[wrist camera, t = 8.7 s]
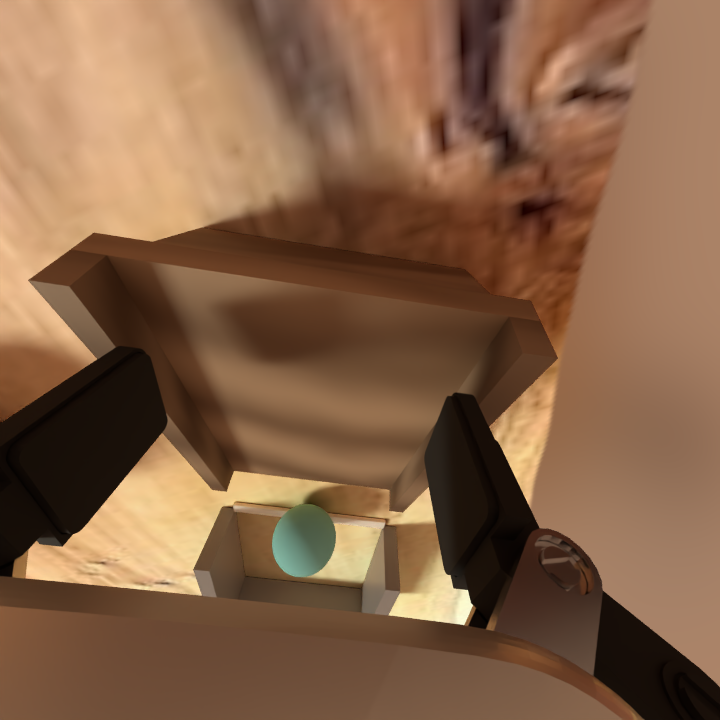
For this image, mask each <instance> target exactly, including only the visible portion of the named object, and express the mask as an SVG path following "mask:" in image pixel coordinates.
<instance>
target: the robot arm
mask: <svg viewBox="0 0 720 720" xmlns="http://www.w3.org/2000/svg"><path fill="white" fill-rule="evenodd" d="M167 422H168V419H167V414H166V411H165V407H164V404H163V400H162V396H161V393H160V389H159V386H158V382H157V378H156V375H155V371H154V367H153V364H152V360H151V357H150V356H149V355H148V354H146V352H145V351H144V350H143V349H140V348H134V347H127V346H118V347H116V348H114V349H113V350H111V351H110V352H108V353H106V354H105V355H103V356H102V357H100V358H99V359H97V360H96V361H94V362H93V363H91V364H90V365H88V366H87V367H85V368H84V369H82V370H81V371H79V372H78V373H76V374H75V375H73V376H72V377H70V378H69V379H67V380H66V381H64V382H62V383H61V384H59V385H58V386H56V387H55V388H53V389H52V390H50V391H49V392H47V393H46V394H44V395H43V396H41V397H40V398H38V399H37V400H35V401H34V402H32V403H31V404H29V405H28V406H26V407H25V408H23V409H22V410H20V411H19V412H17V413H15V414H14V415H12V416H11V417H9V418H8V419H6V420H5V421H3V422H2V423H0V720H720V687H719V686H718V685H717V684H716V683H715V682H714V681H713V680H712V679H711V678H710V677H708V676H707V675H706V674H705V673H704V672H703V671H702V670H701V669H700V668H699V667H697V666H696V665H695V664H694V663H692V662H691V661H690V660H689V659H687V658H686V657H685V656H684V655H682V654H681V653H680V652H679V651H677V650H676V649H675V648H673V647H672V646H671V645H670V644H669V643H668V642H666V641H665V640H664V639H662V638H661V637H660V636H659V635H658V634H656V633H655V632H654V631H652V630H651V629H650V628H649V627H648V626H646V625H645V624H644V623H643V622H641V621H640V620H639V619H637V618H636V617H635V616H634V615H633V614H631V613H630V612H629V611H628V610H626V609H625V608H624V607H623V606H621V605H620V604H619V603H618V602H616V601H615V600H614V599H613V598H611V597H610V596H609V595H607V594H606V593H605V592H604V591H603V589H602V580H601V578H600V575H599V573H598V570H597V568H596V567H595V565H594V564H593V562H592V560H591V559H590V557H589V556H588V555H587V554H586V553H585V552H584V551H583V550H582V549H581V548H580V546H578V545H577V544H576V543H574V542H573V541H572V540H571V539H570V538H568V537H566V536H565V535H563V534H561V533H559V532H557V531H554V530H551V529H542V528H539V526H538V524H537V522H536V520H535V518H534V516H533V513H532V511H531V509H530V507H529V505H528V503H527V501H526V499H525V497H524V495H523V493H522V490H521V488H520V486H519V484H518V482H517V480H516V478H515V476H514V474H513V472H512V470H511V468H510V465H509V463H508V461H507V459H506V457H505V455H504V453H503V451H502V449H501V447H500V445H499V443H498V442H497V441H496V440H495V439H494V437H493V435H492V432H491V430H490V428H489V426H488V424H487V422H486V420H485V418H484V415H483V413H482V411H481V409H480V407H479V405H478V403H477V401H476V398H475V397H474V395H472V394H465V393H458V392H455V393H453V394H452V396H447V397H446V399H445V402H444V404H443V407H442V410H441V412H440V415H439V417H438V420H437V423H436V425H435V428H434V430H433V433H432V435H431V438H430V441H429V443H428V446H427V448H426V451H425V455H424V463H425V468H426V474H427V479H428V485H429V490H430V496H431V501H432V506H433V512H434V517H435V523H436V528H437V534H438V539H439V544H440V550H441V555H442V561H443V566H444V570H445V572H446V574H447V575H451V579H452V584H453V588H455V589H464V590H468V592H469V596H470V600H471V603H472V604H473V607H472V609H471V611H470V614H469V616H468V618H467V620H466V622H465V625H459V624H451V623H443V622H436V621H428V620H420V619H412V618H404V617H396V616H388V615H379V614H370V613H361V612H351V611H342V610H332V609H323V608H314V607H304V606H295V605H285V604H276V603H266V602H257V601H247V600H237V599H227V598H217V597H208V596H198V595H188V594H178V593H168V592H158V591H148V590H138V589H128V588H118V587H108V586H97V585H87V584H77V583H66V582H56V581H45V580H35V579H25V577H26V567H27V558H28V549H29V548H30V547H31V546H32V545H33V544H34V543H35V542H36V540H37V541H38V542H39V544H43V545H52V546H62V547H63V545H64V544H65V543H66V542H67V541H68V539H69V538H70V537H71V536H72V535H73V534H75V533H77V532H79V531H80V530H82V529H83V528H84V527H85V525H86V524H87V523H88V522H89V521H90V519H91V518H92V517H93V516H94V514H95V513H96V512H97V511H98V510H99V508H100V507H101V506H102V505H103V504H104V502H105V501H106V500H107V499H108V498H109V496H110V495H111V494H112V493H113V491H114V490H115V489H116V488H117V487H118V485H119V484H120V483H121V482H122V481H123V479H124V478H125V477H126V476H127V475H128V473H129V472H130V471H131V470H132V468H133V467H134V466H135V465H136V464H137V462H138V461H139V460H140V459H141V458H142V456H143V455H144V454H145V453H146V452H147V450H148V449H149V448H150V447H151V445H152V444H153V443H154V442H155V441H156V439H157V438H158V437H159V436H160V435H161V433H162V432H163V431H164V430H165V428H166V426H167Z"/></svg>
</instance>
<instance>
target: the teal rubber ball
mask: <svg viewBox="0 0 720 720" xmlns="http://www.w3.org/2000/svg"><path fill="white" fill-rule="evenodd" d="M335 542H336V532H335V527H334V524H333V521H332V519H331V518H330V516H329V515H328V513H327V512H326V511H325V510H323V509H322V508H320V507H318V506H316V505H313V504H302V505H298V506H295V507H293V508H291V509H290V510H288V511H287V512H286V513H285V514H284V515H283V516H282V517H281V519H280V520H279V522H278V523H277V525H276V528H275V530H274V534H273V540H272V549H273V554H274V558H275V560H276V562H277V564H278V565H279V567H280V568H281V569H282V570H283V571H284V572H286V573H287V574H289V575H291V576H295V577H307V576H311V575H313V574H315V573H317V572H318V571H320V570H321V569H322V568H323V567H324V566H325V565H326V564H327V562H328V561H329V559H330V558H331V556H332V553H333V551H334V547H335Z"/></svg>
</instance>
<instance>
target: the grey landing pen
mask: <svg viewBox="0 0 720 720" xmlns="http://www.w3.org/2000/svg"><path fill="white" fill-rule="evenodd" d="M288 510H290V508H281V507H273V506H264V505H255V504H247V503H238V502H234V504H233V508H227V507H222V508H221V510H220V513H219V515H218V517H217V519H216V521H215V523H214V526H213V528H212V530H211V532H210V534H209V537H208V539H207V541H206V543H205V545H204V548H203V550H202V552H201V554H200V556H199V559H198V561H197V563H196V565H195V567H194V569H193V570H194V573H195V576H196V579H197V582H198V585H199V588H200V591H201V594H202V596H208V597H217V598H227V599H237V600H247V601H257V602H266V603H276V604H285V605H295V606H304V607H314V608H323V609H332V610H342V611H351V612H361V613H370V614H379V615H389V613H390V611H391V609H392V607H393V605H394V603H395V601H396V599H397V597H398V595H399V593H400V579H399V564H398V549H397V535H396V527H391V526H385V520H384V519H375V518H367V517H358V516H350V515H341V514H333V513H328V515H329V516H330V518H331V519H332V521H333V523H337V524H345V525H354V526H363V527H371V528H380V529H382V531H381V534H380V536H379V539H378V542H377V545H376V548H375V551H374V554H373V557H372V560H371V563H370V566H369V568H368V571H367V574H366V577H365V580H364V583H363V586H362V589H358V588H349V587H339V586H330V585H320V584H311V583H301V582H292V581H282V580H273V579H263V578H254V577H245V573H244V566H243V558H242V551H241V544H240V537H239V530H238V523H237V516H236V512H241V513H250V514H259V515H267V516H276V517H282V516H283V515H284V514H285V513H286V512H287V511H288Z"/></svg>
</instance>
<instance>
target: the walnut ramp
mask: <svg viewBox="0 0 720 720" xmlns="http://www.w3.org/2000/svg"><path fill="white" fill-rule="evenodd" d="M28 281H29V282H30V283H31V284H32V285H33V286H34V287H35V289H36V290H37V291H38V292H39V293H40V294H41V295H42V297H43V298H44V299H45V300H46V301H47V302H48V303H49V305H50V306H51V307H52V308H53V309H54V310H55V311H56V313H57V314H58V315H59V316H60V317H61V318H62V319H63V320H64V322H65V323H66V324H67V325H68V326H69V327H70V328H71V330H72V331H73V332H74V333H75V334H76V335H77V336H78V338H79V339H80V340H81V341H82V342H83V343H84V344H85V345H86V347H87V348H88V349H89V350H90V351H91V352H92V353H93V355H94V356H95V357H96V358H97V359H99V358H100V357H102V356H103V355H105V354H106V353H108V352H110V351H111V350H113V349H114V348H116V347H118V346H127V347H134V348H140V349H143V350H144V351H145V352H146V354H148V355H149V356H150V357H151V360H152V364H153V367H154V371H155V375H156V378H157V382H158V386H159V389H160V393H161V396H162V400H163V404H164V407H165V411H166V414H167V419H168V422H167V426H166V428H165V430H164V431H163V432H162V433H163V434H164V435H165V436H166V438H167V439H168V440H169V441H170V442H171V443H172V444H173V446H174V447H175V448H176V449H177V450H178V451H179V452H180V453H181V455H182V456H183V457H184V458H185V459H186V460H187V461H188V463H189V464H190V465H191V466H192V467H193V468H194V469H195V471H196V472H197V473H198V474H199V475H200V476H201V477H202V479H203V480H204V481H205V482H206V483H207V484H208V485H209V486H210V488H211V489H212V490H218V491H226V492H227V489H228V486H229V483H230V480H231V477H232V475H233V472H234V471H240V472H249V473H257V474H265V475H273V476H281V477H290V478H298V479H306V480H314V481H323V482H331V483H339V484H347V485H355V486H364V487H372V488H380V489H388V490H390V509H389V511H395V512H404V511H405V510H406V509H407V508H408V507H409V506H410V505H411V504H412V503H413V502H414V501H415V500H416V499H417V498H418V497H419V496H420V495H421V494H422V493H423V492H424V491H425V490H426V489H427V488H428V487H429V485H428V479H427V474H426V468H425V463H424V455H425V451H426V448H427V446H428V443H429V441H430V438H431V435H432V433H433V430H434V428H435V425H436V423H437V420H438V417H439V415H440V412H441V410H442V407H443V404H444V402H445V399H446V397H447V396H452V394H453V393H455V392H458V393H465V394H472V395H474V397H475V398H476V401H477V403H478V405H479V407H480V409H481V411H482V413H483V415H484V418H485V420H486V422H487V424H488V426H490V425H491V424H492V423H493V422H494V421H495V420H496V419H497V418H498V417H499V416H500V415H501V414H502V413H503V412H504V411H505V410H506V409H507V408H508V407H509V406H510V405H511V404H512V403H513V402H514V401H515V400H516V399H517V398H518V397H519V396H520V395H521V394H522V393H523V392H524V391H525V390H526V389H527V388H528V387H529V386H530V385H531V384H532V383H533V382H534V381H535V380H536V379H537V378H538V377H539V376H540V375H541V374H542V373H543V372H544V371H545V370H546V369H548V368H549V367H550V366H551V365H552V364H553V363H554V362H555V361H556V360H557V359H558V357H557V355H556V353H555V351H554V349H553V347H552V345H551V343H550V341H549V338H548V336H547V334H546V332H545V330H544V328H543V326H542V324H541V322H540V319H539V317H538V315H537V313H536V311H535V309H534V307H533V304H532V302H531V301H529V300H522V299H516V298H509V297H503V296H496V295H491V294H490V293H489V292H488V291H487V290H486V289H485V288H484V287H483V286H482V285H481V284H480V283H479V282H478V281H477V280H475V279H474V278H473V277H472V276H471V275H470V274H469V273H468V272H467V271H466V270H465V269H459V268H453V267H446V266H440V265H434V264H428V263H421V262H415V261H409V260H402V259H396V258H390V257H384V256H377V255H371V254H365V253H358V252H352V251H346V250H340V249H333V248H327V247H321V246H315V245H308V244H302V243H296V242H289V241H283V240H277V239H271V238H264V237H258V236H252V235H245V234H239V233H233V232H227V231H220V230H214V229H208V228H199V229H195V230H192V231H188V232H185V233H181V234H178V235H174V236H171V237H167V238H164V239H161V240H157V241H154V242H150V241H144V240H137V239H131V238H124V237H118V236H111V235H105V234H99V233H93V234H91V235H90V236H89V237H87V238H86V239H85V240H83V241H82V242H80V243H79V244H78V245H76V246H75V247H73V248H72V249H71V250H69V251H68V252H67V253H65V254H64V255H63V256H61V257H60V258H58V259H57V260H56V261H54V262H53V263H51V264H50V265H49V266H47V267H46V268H45V269H43V270H42V271H40V272H39V273H38V274H36V275H35V276H34V277H32V278H31V279H29V280H28Z"/></svg>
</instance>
